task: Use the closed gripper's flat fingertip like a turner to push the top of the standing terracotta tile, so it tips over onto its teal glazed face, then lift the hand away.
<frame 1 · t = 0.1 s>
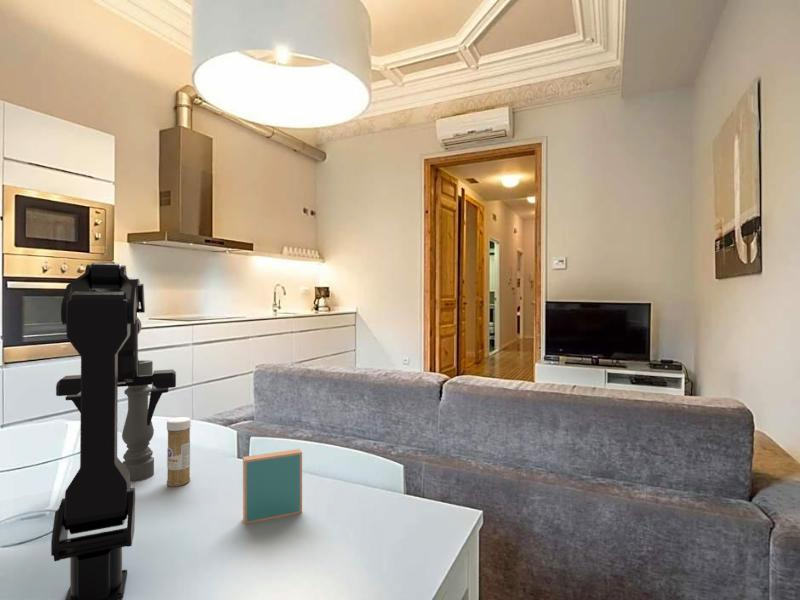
hand: (120, 428, 86), 15 cm above the table, fingers open, 9 cm apart
sprinkles bottle: (178, 483, 98), on the table
candle holder: (138, 476, 101), on the table
tile: (272, 485, 83), point 5 cm above the table
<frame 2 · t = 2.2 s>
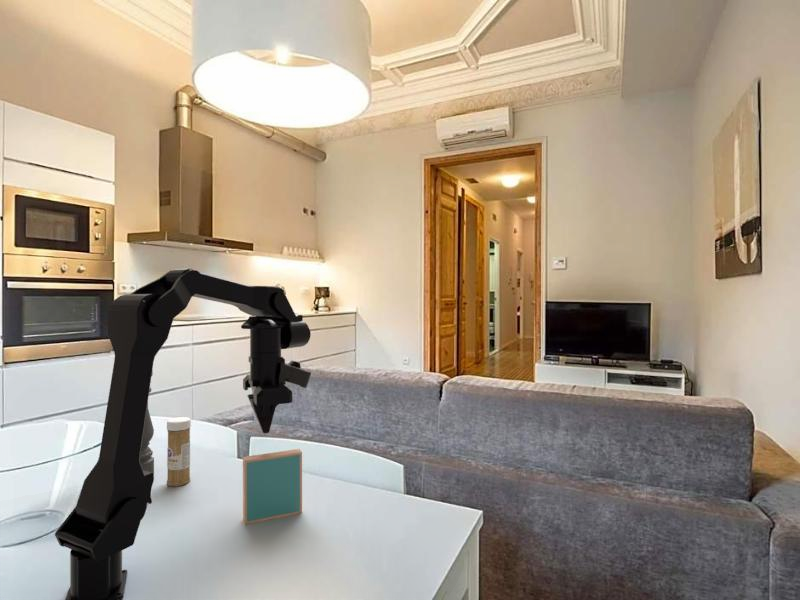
hand: (265, 432, 89), 13 cm above the table, fingers closed
nothing on the table moved.
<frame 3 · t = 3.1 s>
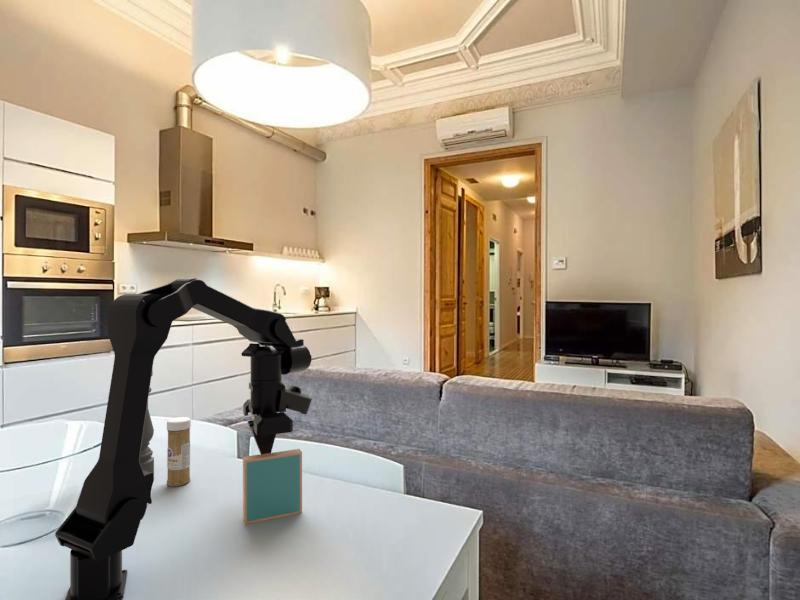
hand: (266, 459, 89), 8 cm above the table, fingers closed
nothing on the table moved.
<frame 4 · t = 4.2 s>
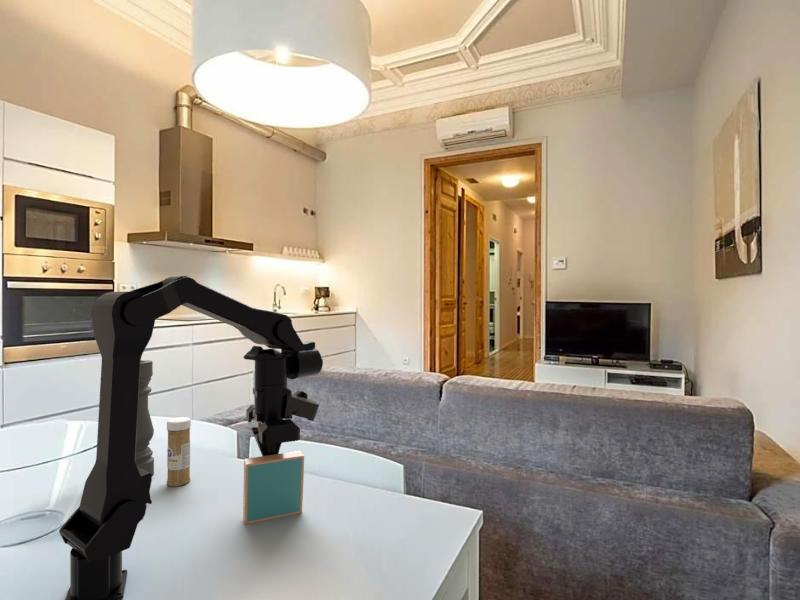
hand: (270, 469, 84), 8 cm above the table, fingers closed
tile: (273, 486, 82), point 6 cm above the table, tilted 9°
everything else where it was.
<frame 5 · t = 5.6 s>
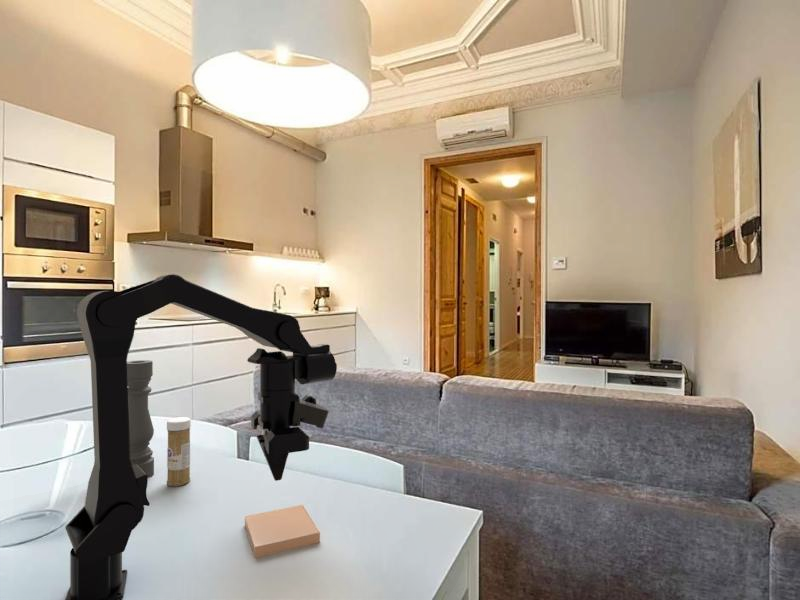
hand: (277, 479, 79), 8 cm above the table, fingers closed
tile: (280, 530, 76), point 1 cm above the table, tilted 90°
everything else where it was.
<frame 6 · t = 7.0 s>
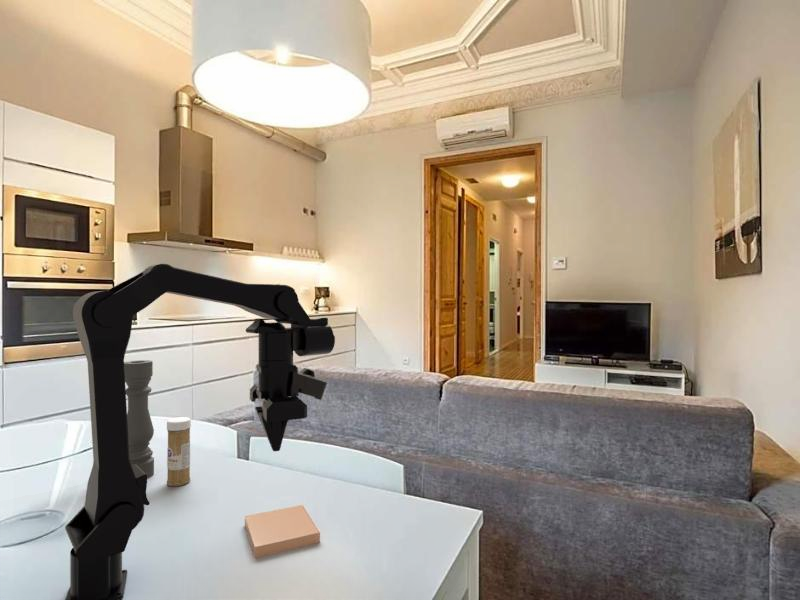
hand: (276, 450, 79), 13 cm above the table, fingers closed
nothing on the table moved.
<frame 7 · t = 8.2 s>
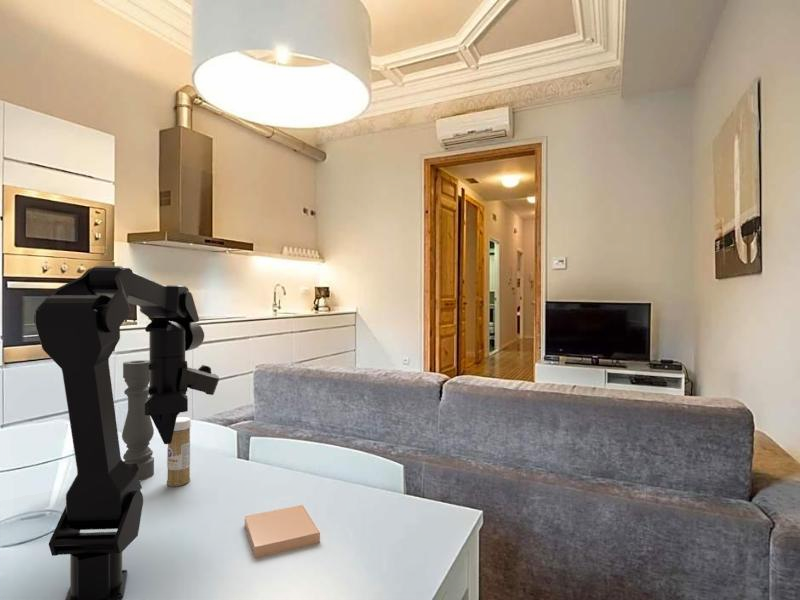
hand: (167, 443, 82), 13 cm above the table, fingers closed
nothing on the table moved.
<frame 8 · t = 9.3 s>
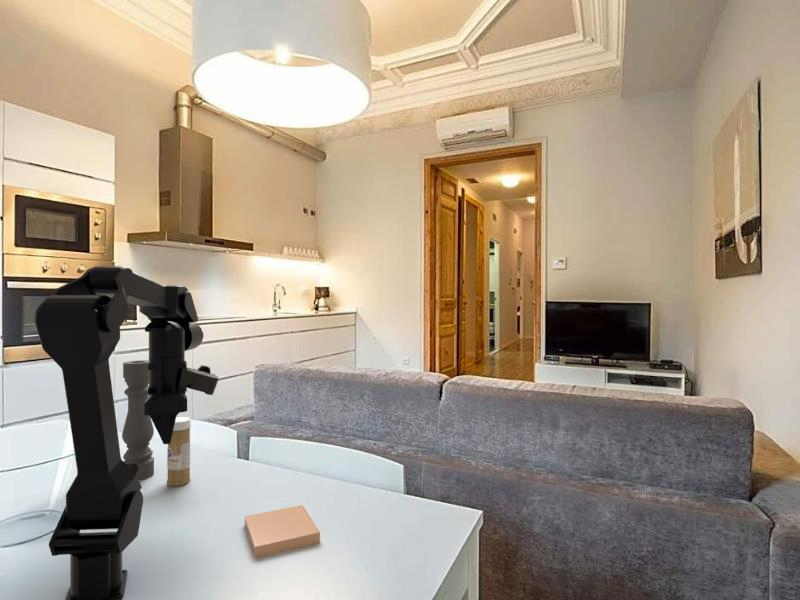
hand: (167, 443, 82), 13 cm above the table, fingers closed
nothing on the table moved.
at the end: tile inside the target area (0.4 cm from its centre), point 0.5 cm above the table; tile tilted 90° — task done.
